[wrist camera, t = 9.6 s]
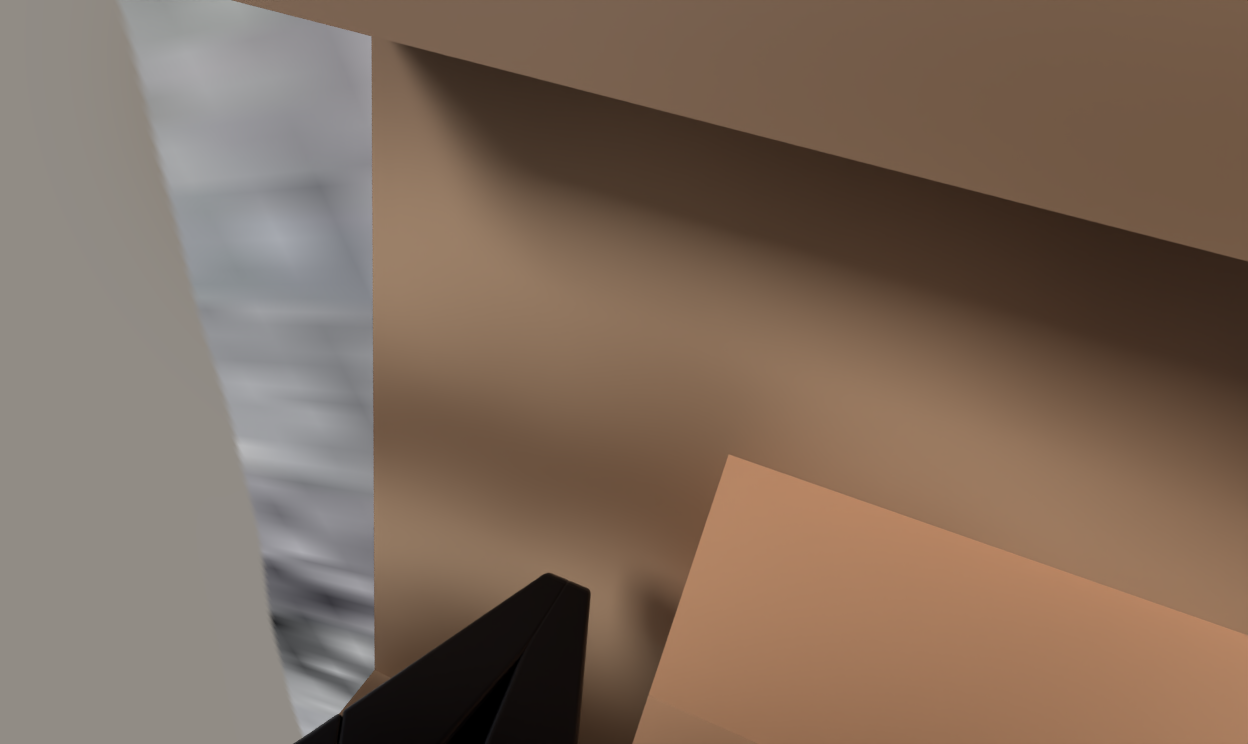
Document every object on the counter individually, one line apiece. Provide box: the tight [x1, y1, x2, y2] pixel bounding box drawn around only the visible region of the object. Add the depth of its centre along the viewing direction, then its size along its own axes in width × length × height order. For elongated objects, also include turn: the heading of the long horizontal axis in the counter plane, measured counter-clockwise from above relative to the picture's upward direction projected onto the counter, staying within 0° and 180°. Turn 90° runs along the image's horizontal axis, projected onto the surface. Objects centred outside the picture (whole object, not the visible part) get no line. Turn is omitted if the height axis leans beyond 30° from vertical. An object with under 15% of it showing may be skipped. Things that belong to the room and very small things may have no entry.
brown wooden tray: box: [233, 0, 1248, 744], centre depth 9 cm, size 18×15×4 cm
